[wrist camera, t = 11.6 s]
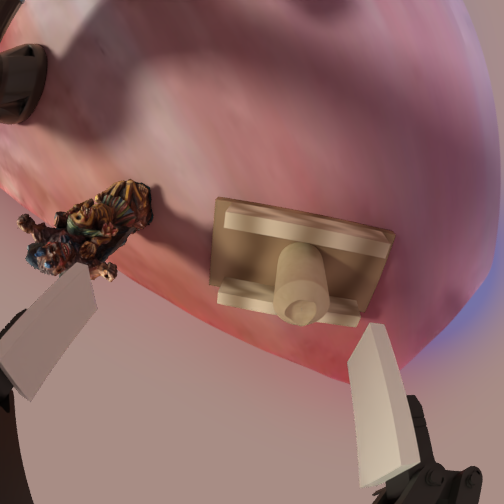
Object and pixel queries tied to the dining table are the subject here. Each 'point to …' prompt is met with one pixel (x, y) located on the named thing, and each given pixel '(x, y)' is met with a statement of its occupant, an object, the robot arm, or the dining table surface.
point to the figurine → (89, 231)
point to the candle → (301, 285)
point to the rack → (280, 236)
